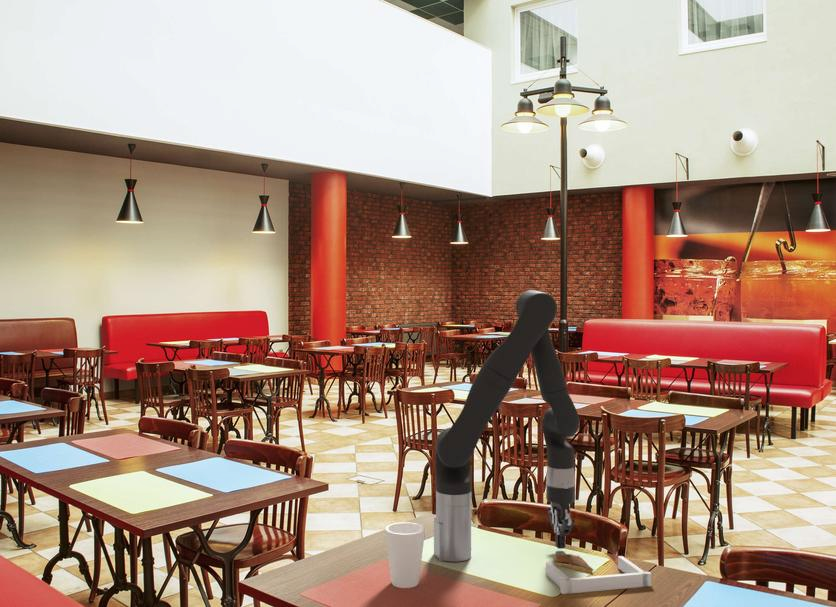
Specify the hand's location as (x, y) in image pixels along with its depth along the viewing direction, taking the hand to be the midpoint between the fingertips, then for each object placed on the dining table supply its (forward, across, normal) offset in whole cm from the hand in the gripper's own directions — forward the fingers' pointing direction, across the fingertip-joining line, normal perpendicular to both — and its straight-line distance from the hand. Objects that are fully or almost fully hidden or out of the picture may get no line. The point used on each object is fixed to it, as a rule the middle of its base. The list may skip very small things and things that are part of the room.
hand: (560, 547), depth 198 cm
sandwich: (+2, +10, 0) cm, 10 cm away
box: (+1, +21, 0) cm, 21 cm away
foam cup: (+1, +13, -45) cm, 47 cm away
